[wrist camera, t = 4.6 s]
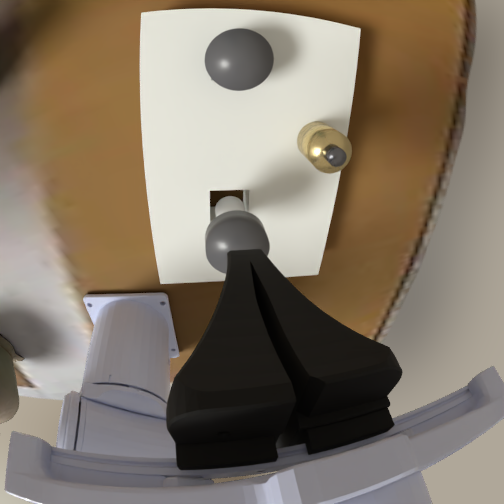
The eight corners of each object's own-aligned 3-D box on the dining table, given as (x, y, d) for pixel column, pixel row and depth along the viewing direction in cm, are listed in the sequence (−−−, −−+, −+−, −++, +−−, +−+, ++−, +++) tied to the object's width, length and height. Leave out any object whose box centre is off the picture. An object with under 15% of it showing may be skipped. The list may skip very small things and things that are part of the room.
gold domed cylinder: (331, 159, 18) (353, 180, 15) (294, 158, 17) (312, 178, 15) (337, 123, 16) (362, 137, 14) (299, 119, 16) (319, 133, 13)
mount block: (308, 255, 25) (318, 274, 23) (162, 262, 23) (160, 283, 21) (342, 30, 15) (360, 28, 13) (148, 18, 13) (141, 12, 11)
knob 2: (253, 230, 20) (266, 273, 16) (204, 232, 19) (206, 276, 16) (257, 185, 18) (272, 221, 14) (203, 186, 17) (204, 223, 14)
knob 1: (256, 85, 16) (271, 92, 13) (203, 84, 16) (203, 90, 12) (259, 37, 14) (276, 30, 11) (204, 35, 14) (206, 27, 10)
